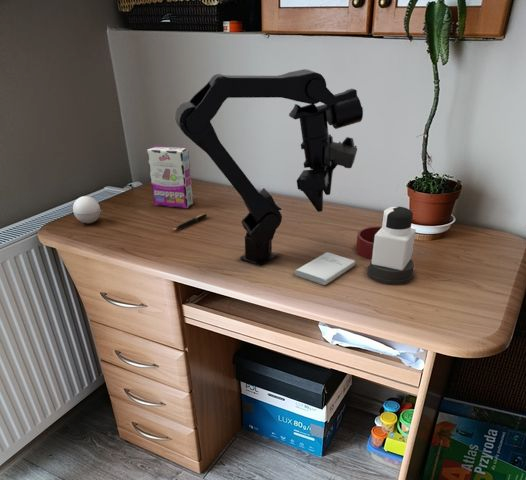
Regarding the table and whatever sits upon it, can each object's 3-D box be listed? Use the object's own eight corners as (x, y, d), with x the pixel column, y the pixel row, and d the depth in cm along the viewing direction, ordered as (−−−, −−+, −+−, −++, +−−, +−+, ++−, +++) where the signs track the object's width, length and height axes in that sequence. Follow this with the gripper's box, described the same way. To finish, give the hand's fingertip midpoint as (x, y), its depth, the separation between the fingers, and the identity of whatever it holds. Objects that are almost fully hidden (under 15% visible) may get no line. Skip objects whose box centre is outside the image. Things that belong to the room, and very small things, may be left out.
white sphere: (70, 225, 143) (64, 199, 139) (87, 216, 149) (82, 191, 145) (99, 230, 140) (93, 204, 136) (115, 221, 146) (111, 195, 141)
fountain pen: (173, 233, 138) (173, 227, 137) (170, 232, 139) (170, 226, 138) (208, 217, 148) (208, 212, 147) (205, 216, 148) (205, 211, 147)
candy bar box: (194, 203, 157) (189, 147, 148) (187, 209, 153) (182, 151, 144) (161, 200, 160) (154, 145, 150) (153, 205, 156) (146, 149, 146)
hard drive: (295, 275, 117) (325, 257, 124) (325, 286, 112) (355, 266, 120) (295, 269, 116) (325, 251, 123) (325, 279, 111) (355, 260, 119)
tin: (392, 265, 121) (394, 249, 118) (347, 253, 126) (349, 237, 124) (412, 248, 128) (415, 233, 126) (369, 237, 134) (371, 222, 132)
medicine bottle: (411, 258, 116) (420, 206, 109) (402, 271, 111) (411, 217, 104) (380, 252, 119) (387, 201, 112) (370, 264, 114) (377, 212, 107)
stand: (402, 289, 111) (404, 276, 109) (358, 276, 116) (360, 264, 114) (421, 271, 118) (423, 259, 116) (379, 260, 123) (380, 248, 121)
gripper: (344, 145, 102) (351, 218, 111) (359, 116, 115) (364, 184, 125) (290, 151, 106) (302, 221, 115) (311, 122, 119) (319, 187, 129)
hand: (324, 202), depth 121 cm, fingers open, 9 cm apart
